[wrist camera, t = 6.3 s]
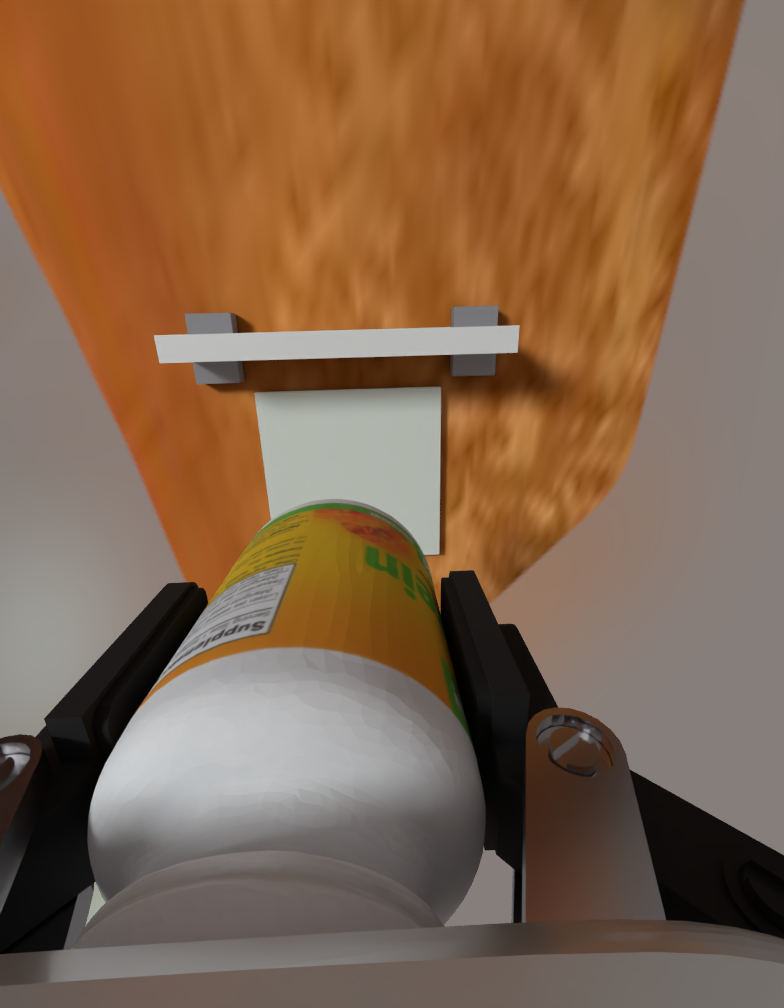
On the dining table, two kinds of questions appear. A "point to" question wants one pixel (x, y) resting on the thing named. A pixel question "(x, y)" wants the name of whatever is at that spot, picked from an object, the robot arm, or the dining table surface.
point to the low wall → (337, 344)
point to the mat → (356, 452)
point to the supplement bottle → (295, 752)
